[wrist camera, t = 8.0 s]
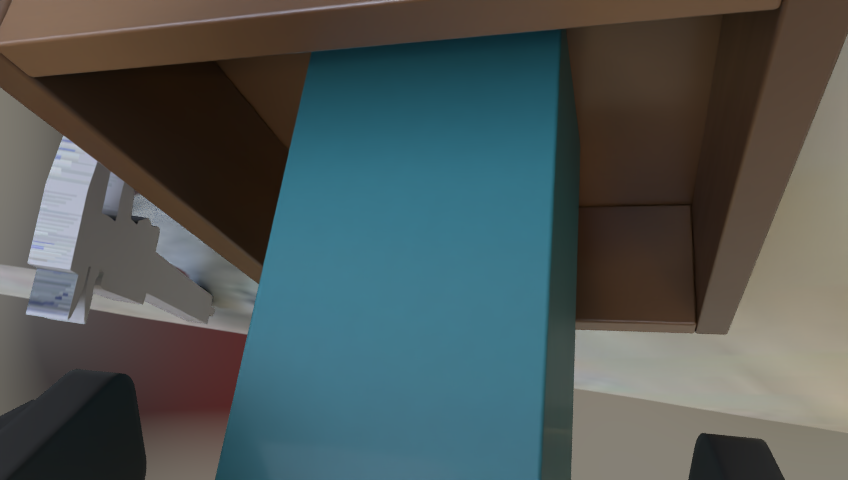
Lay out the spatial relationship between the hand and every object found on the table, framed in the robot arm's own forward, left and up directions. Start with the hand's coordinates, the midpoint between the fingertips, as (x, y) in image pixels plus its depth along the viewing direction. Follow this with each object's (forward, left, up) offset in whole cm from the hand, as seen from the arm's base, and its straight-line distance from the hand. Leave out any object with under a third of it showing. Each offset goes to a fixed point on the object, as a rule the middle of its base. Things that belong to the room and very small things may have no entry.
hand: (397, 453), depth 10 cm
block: (0, +3, -8) cm, 9 cm away
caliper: (+14, +11, -9) cm, 20 cm away
